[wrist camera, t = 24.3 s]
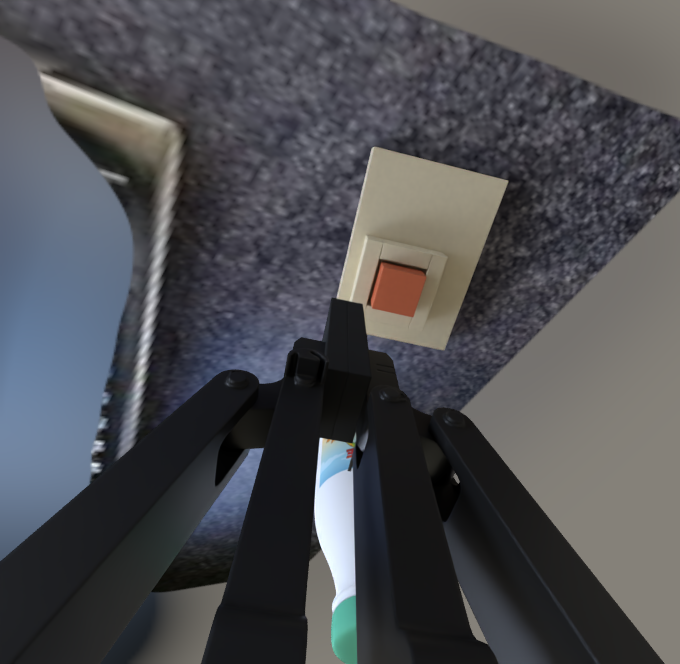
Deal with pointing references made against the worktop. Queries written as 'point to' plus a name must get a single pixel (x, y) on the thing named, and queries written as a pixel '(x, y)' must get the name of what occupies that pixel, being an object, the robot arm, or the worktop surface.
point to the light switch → (419, 240)
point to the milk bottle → (338, 539)
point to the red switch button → (397, 289)
